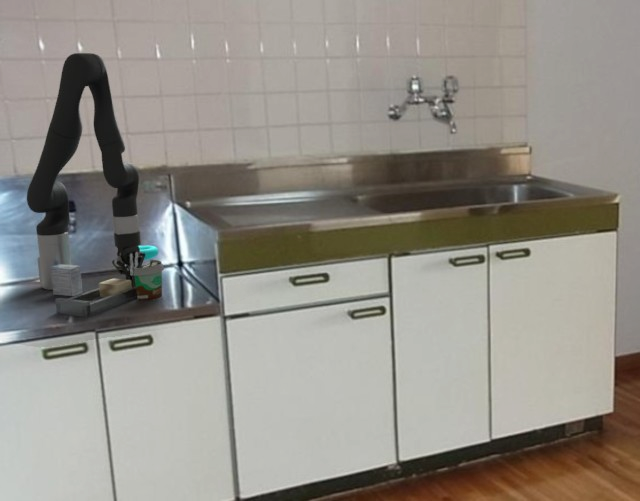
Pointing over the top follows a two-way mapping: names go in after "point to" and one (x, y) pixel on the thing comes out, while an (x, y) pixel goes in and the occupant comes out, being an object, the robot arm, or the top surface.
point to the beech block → (113, 286)
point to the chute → (93, 302)
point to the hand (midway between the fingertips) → (131, 286)
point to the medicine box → (66, 280)
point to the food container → (149, 280)
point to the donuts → (149, 251)
